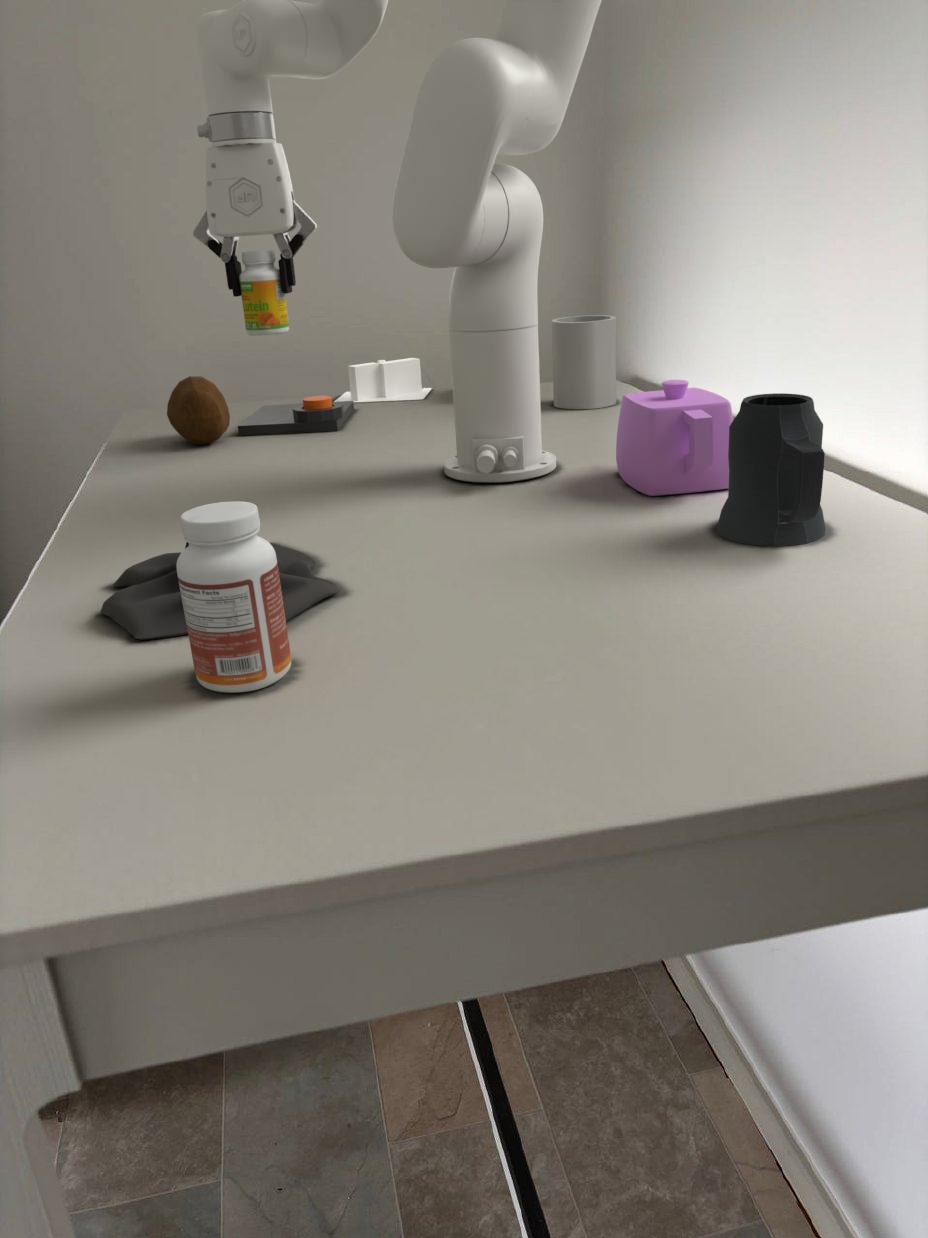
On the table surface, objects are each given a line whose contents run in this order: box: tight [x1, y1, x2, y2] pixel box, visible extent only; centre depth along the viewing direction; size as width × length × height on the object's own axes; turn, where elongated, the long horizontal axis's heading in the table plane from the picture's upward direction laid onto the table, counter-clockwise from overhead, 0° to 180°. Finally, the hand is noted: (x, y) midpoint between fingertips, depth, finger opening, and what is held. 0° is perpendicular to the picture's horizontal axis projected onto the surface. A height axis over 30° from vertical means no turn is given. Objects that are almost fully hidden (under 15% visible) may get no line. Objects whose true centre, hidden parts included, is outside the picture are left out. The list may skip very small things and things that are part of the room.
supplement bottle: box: [239, 249, 290, 337], centre depth 126 cm, size 5×5×10 cm
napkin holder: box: [333, 357, 433, 403], centre depth 167 cm, size 15×11×6 cm
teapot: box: [615, 379, 734, 497], centre depth 104 cm, size 18×10×10 cm, turn 8°
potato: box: [166, 375, 231, 445], centre depth 139 cm, size 8×12×9 cm
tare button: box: [302, 395, 333, 410], centre depth 144 cm, size 4×4×2 cm
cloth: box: [100, 541, 340, 641], centre depth 81 cm, size 22×19×6 cm
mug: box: [715, 392, 826, 547], centre depth 85 cm, size 12×9×11 cm
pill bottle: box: [176, 500, 292, 694], centre depth 64 cm, size 6×6×11 cm
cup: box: [550, 314, 617, 410], centre depth 148 cm, size 9×9×12 cm
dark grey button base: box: [237, 401, 355, 437], centre depth 149 cm, size 16×14×3 cm
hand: (263, 292), depth 126 cm, fingers closed on supplement bottle, 5 cm apart
